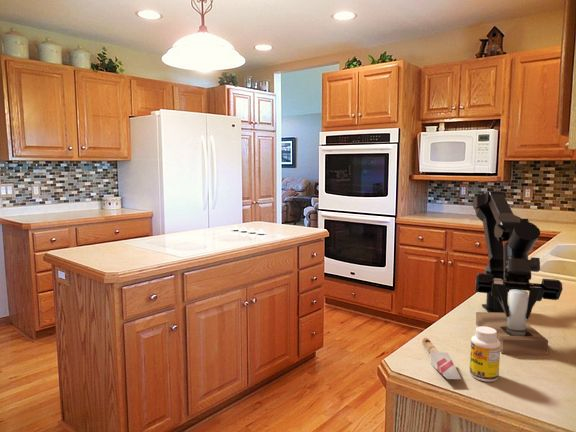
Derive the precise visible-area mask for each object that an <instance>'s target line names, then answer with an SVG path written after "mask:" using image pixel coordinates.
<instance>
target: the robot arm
mask: <svg viewBox="0 0 576 432" xmlns="http://www.w3.org/2000/svg"><path fill="white" fill-rule="evenodd" d="M472 201H473V202H472V207H473V210H475V211H474V212H475V216H476V218H478V219H479V220H480V221H481V222H482V226H483V232H484V238H485V244H486V249H487V252H486V253H487V256H488V262H487V265H486V266H485V268H484V271H483V273H482V272H478V273H477V274H476V275H475V289H474V290H475V292H477V293H482V294H486V303H483V304H481V307H482V308H484V309H485V310H486V312H495V313H505V315H506V317H509V308H508V303H509V290H513V289H517V290H523V291H526V292H528V303H527V316H526V320H529V319H530V317H531V313H532V311H533V307H534V306H535V305H536V303H537V302H542V301H543V299H544V300H549V301H550V300H551V301H557V300H560V297H561V294H562V292H563V282H561V280H559V279H557V278H556V279H553V278H544V277H543V278H542V279H541V283H538V282H537V283H535V282H530V280H532V272H535V273H538V272H540V270H541V261H540V260H541V259H540V258H541V257H530V258H529V252H530V251H532V249H533V248H534V246H535V245H536V243H537V241H538V239H539V238H540V236H541V230H540V228H539V227H538V226H537V225H535V224H534V223H532V222H530V221H529V219H528V218H522V217H520V216H517V215H515V214H514V213H513V210H512V208H511V207H510V204H509V203H508V200H507V198H506V192H505V191H502V190H488V191H485V192H483V193H481V194H477V195H476V196H475V197H474V198H473V199H472ZM504 242H505V243H504Z"/></svg>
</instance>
